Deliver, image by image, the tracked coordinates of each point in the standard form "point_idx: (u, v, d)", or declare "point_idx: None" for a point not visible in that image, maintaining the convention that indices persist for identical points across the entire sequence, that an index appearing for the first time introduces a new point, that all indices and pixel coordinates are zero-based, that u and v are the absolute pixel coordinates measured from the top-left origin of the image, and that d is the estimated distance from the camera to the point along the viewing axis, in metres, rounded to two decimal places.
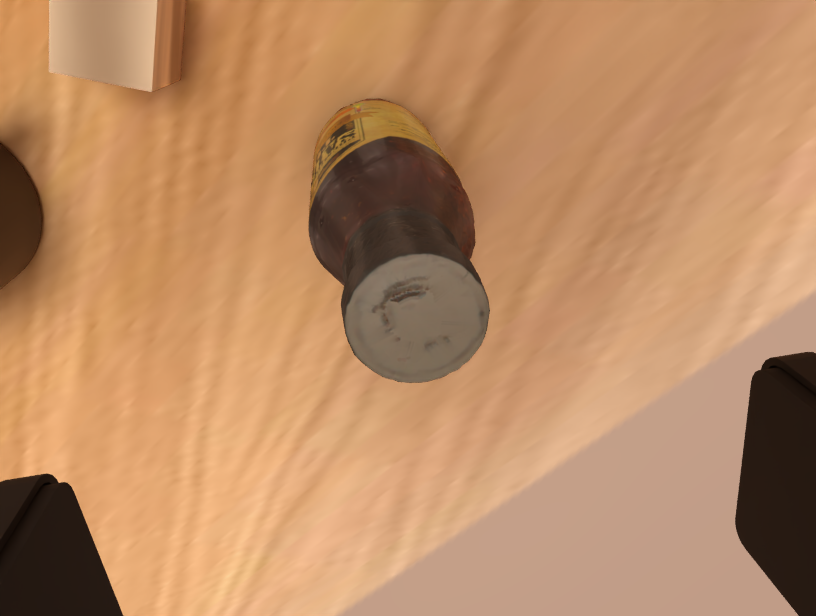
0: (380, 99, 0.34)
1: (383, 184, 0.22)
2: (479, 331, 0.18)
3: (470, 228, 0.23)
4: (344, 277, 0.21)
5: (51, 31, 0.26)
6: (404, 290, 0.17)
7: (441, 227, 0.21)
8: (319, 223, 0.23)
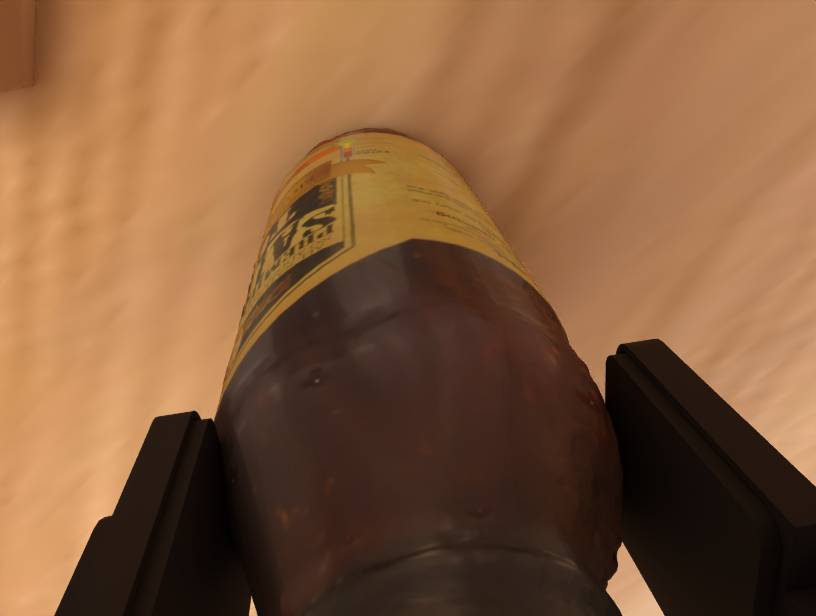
0: (387, 130, 0.19)
1: (399, 407, 0.08)
2: None
3: (620, 499, 0.09)
4: None
5: None
6: None
7: (591, 607, 0.06)
8: (229, 477, 0.09)
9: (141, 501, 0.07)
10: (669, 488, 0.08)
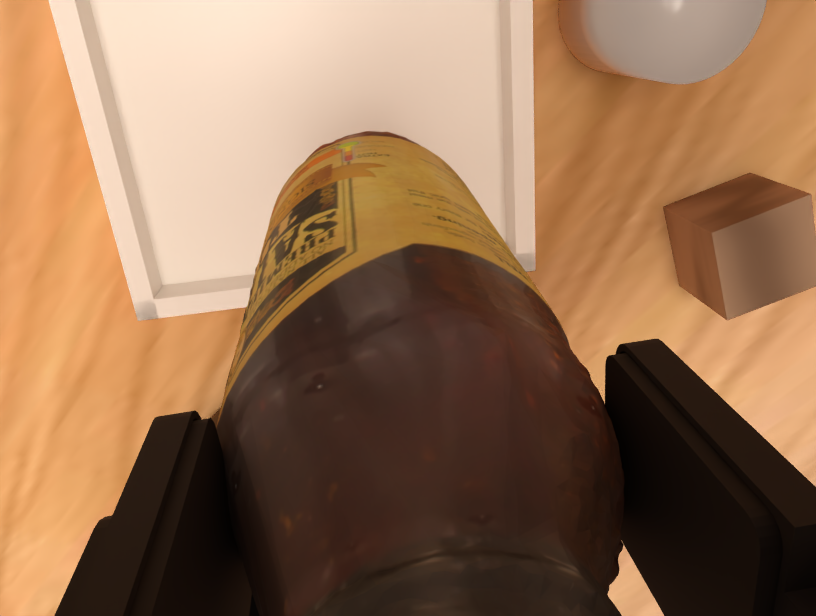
0: (388, 133, 0.19)
1: (402, 412, 0.08)
2: None
3: (621, 503, 0.09)
4: None
5: None
6: None
7: (593, 613, 0.06)
8: (232, 483, 0.09)
9: (141, 501, 0.07)
10: (669, 488, 0.08)
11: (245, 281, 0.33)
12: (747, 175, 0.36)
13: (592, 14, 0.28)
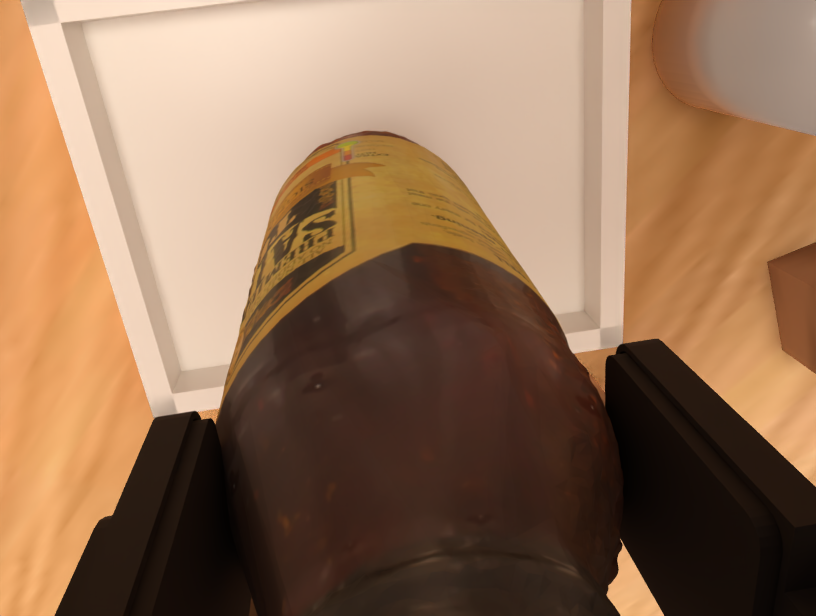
0: (387, 132, 0.19)
1: (400, 413, 0.08)
2: None
3: (620, 503, 0.09)
4: None
5: None
6: None
7: (592, 613, 0.06)
8: (230, 482, 0.09)
9: (141, 501, 0.07)
10: (669, 488, 0.08)
11: None
12: None
13: (710, 48, 0.22)
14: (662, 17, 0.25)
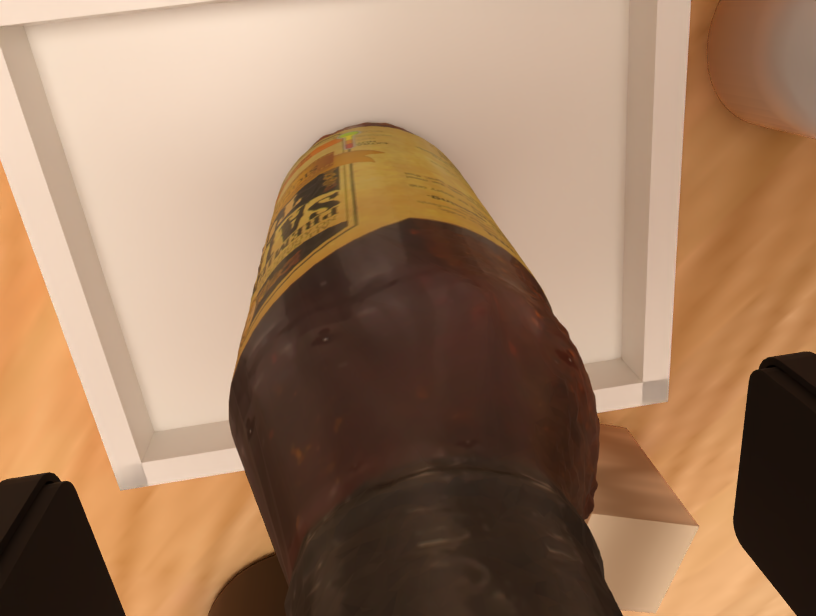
0: (386, 124, 0.20)
1: (398, 360, 0.09)
2: None
3: (596, 447, 0.10)
4: None
5: None
6: None
7: (563, 520, 0.07)
8: (246, 428, 0.10)
9: None
10: None
11: None
12: None
13: (791, 58, 0.18)
14: (722, 20, 0.21)
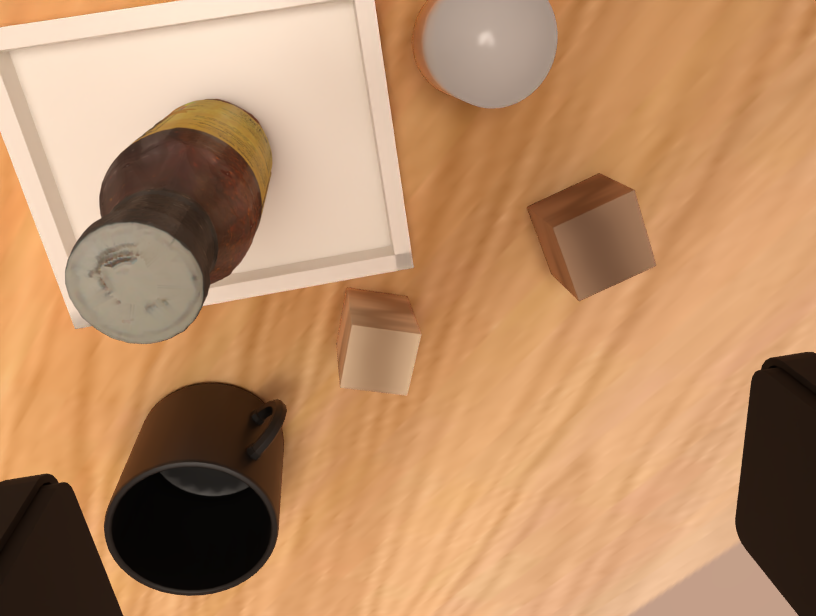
0: (218, 99, 0.36)
1: (150, 168, 0.24)
2: (195, 294, 0.20)
3: (242, 210, 0.25)
4: None
5: (345, 363, 0.38)
6: (115, 256, 0.19)
7: (190, 205, 0.23)
8: (101, 206, 0.25)
9: None
10: None
11: None
12: (596, 175, 0.42)
13: (425, 54, 0.33)
14: (414, 34, 0.37)
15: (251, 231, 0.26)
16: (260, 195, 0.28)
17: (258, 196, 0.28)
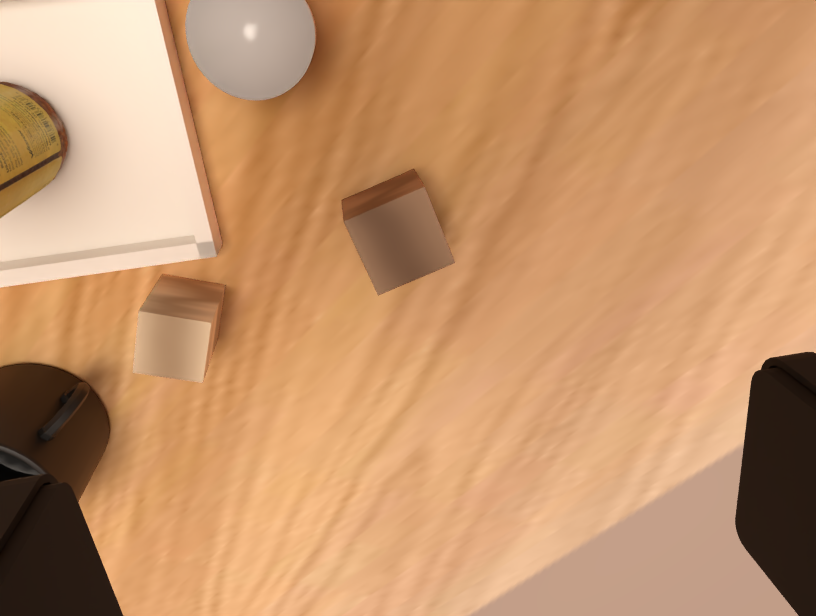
0: (5, 82, 0.36)
1: None
2: None
3: None
4: None
5: (136, 349, 0.38)
6: None
7: None
8: None
9: None
10: None
11: None
12: (410, 171, 0.42)
13: None
14: None
15: None
16: None
17: None
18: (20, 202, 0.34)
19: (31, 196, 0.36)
